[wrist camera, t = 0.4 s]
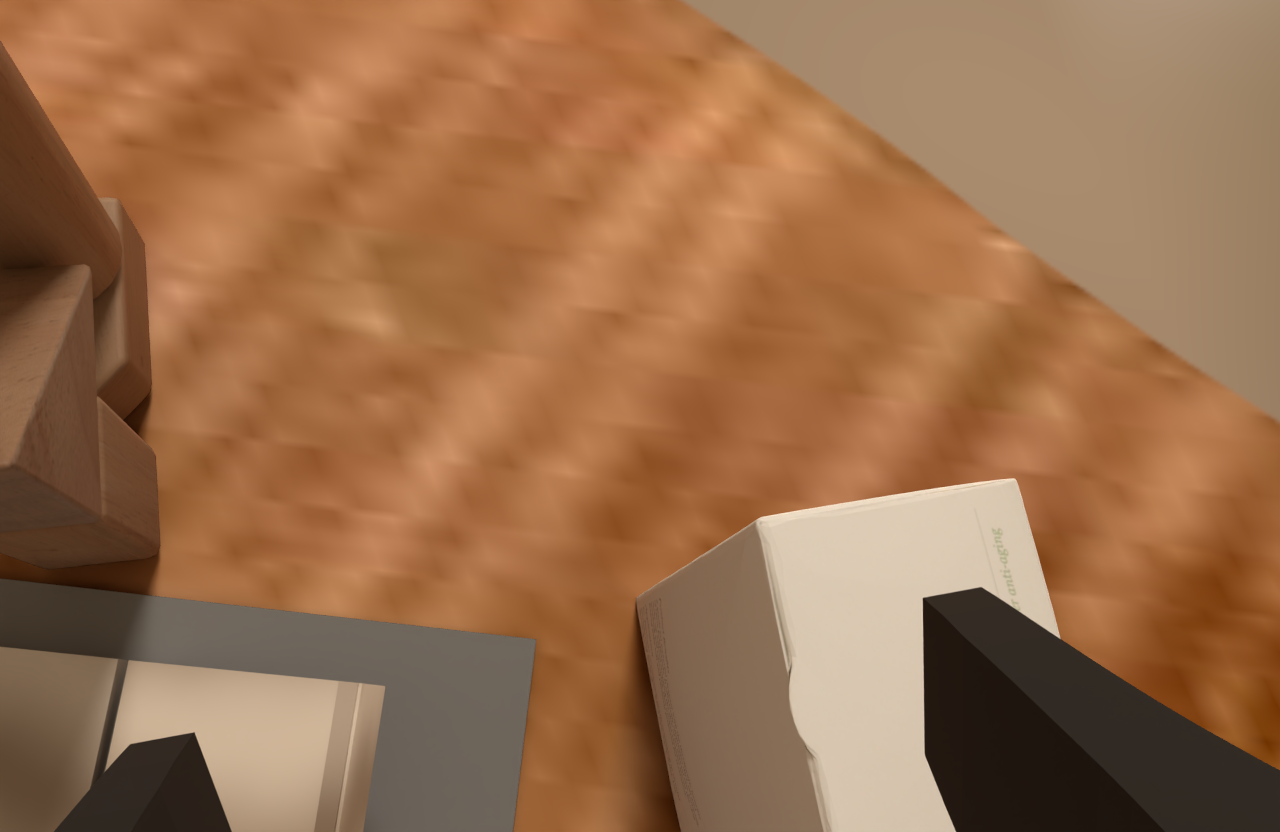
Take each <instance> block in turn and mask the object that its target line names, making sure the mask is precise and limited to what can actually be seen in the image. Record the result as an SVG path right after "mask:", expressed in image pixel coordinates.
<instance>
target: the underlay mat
mask: <svg viewBox="0 0 1280 832" xmlns="http://www.w3.org/2000/svg"><path fill="white" fill-rule="evenodd" d="M535 645H536V639H528V638H519V637H511V636H502V635H493V634H484V633H475V632H467V631H458V630H449V629H440V628H431V627H423V626H414V625H405V624H396V623H387V622H379V621H370V620H361V619H352V618H343V617H335V616H326V615H317V614H308V613H299V612H291V611H282V610H273V609H264V608H255V607H247V606H238V605H229V604H220V603H211V602H203V601H194V600H185V599H176V598H168V597H159V596H150V595H141V594H132V593H124V592H115V591H106V590H97V589H88V588H80V587H71V586H62V585H53V584H44V583H36V582H27V581H18V580H9V579H0V647H7V648H17V649H27V650H36V651H46V652H55V653H65V654H74V655H84V656H94V657H103V658H113V659H121V660H128V661H129V660H132V661H142V662H152V663H162V664H172V665H182V666H192V667H203V668H213V669H223V670H233V671H243V672H253V673H263V674H273V675H283V676H293V677H303V678H313V679H323V680H334V681H344V682H354V683H364V684H372V685H380V686H385V693H384V699H383V706H382V712H381V719H380V725H379V731H378V738H377V744H376V751H375V757H374V764H373V770H372V777H371V783H370V790H369V796H368V803H367V809H366V816H365V822H364V829H363V832H513V826H514V818H515V810H516V801H517V793H518V785H519V777H520V768H521V760H522V752H523V744H524V735H525V727H526V719H527V711H528V702H529V694H530V686H531V678H532V670H533V661H534V653H535ZM128 661H127V666H128ZM127 666H126V670H125V675H126V671H127ZM125 675H124V680H125ZM124 680H123V684H122V689H123V685H124ZM122 689H121V694H122ZM121 694H120V699H121ZM120 699H119V703H120ZM119 703H118V708H119ZM118 708H117V713H118ZM117 713H116V717H117ZM116 717H115V722H116ZM115 722H114V727H115ZM114 727H113V731H112V736H113V732H114ZM112 736H111V741H112ZM111 741H110V745H109V750H110V746H111ZM109 750H108V755H109ZM108 755H107V759H106V764H107V760H108ZM106 764H105V769H106ZM105 769H104V772H105Z"/></svg>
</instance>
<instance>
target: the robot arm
mask: <svg viewBox="0 0 1280 832" xmlns="http://www.w3.org/2000/svg"><path fill="white" fill-rule="evenodd" d="M923 666H924V750H925V757H926V759H927V762H928V764H929V767H930V769H931V772H932V774H933V777H934V779H935V782H936V785H937V787H938V790H939V792H940V795H941V797H942V800H943V802H944V805H945V807H946V809H947V812H948V814H949V816H950V819H951V821H952V823H953V826H954V828H955V831H956V832H1280V770H1278V769H1276V768H1274V767H1272V766H1270V765H1268V764H1267V763H1265V762H1263V761H1261V760H1259V759H1257V758H1256V757H1254V756H1252V755H1250V754H1248V753H1247V752H1245V751H1243V750H1241V749H1239V748H1238V747H1236V746H1234V745H1232V744H1230V743H1229V742H1227V741H1225V740H1223V739H1222V738H1220V737H1218V736H1216V735H1214V734H1213V733H1211V732H1209V731H1207V730H1205V729H1204V728H1202V727H1200V726H1198V725H1197V724H1195V723H1193V722H1192V721H1190V720H1188V719H1186V718H1185V717H1183V716H1181V715H1180V714H1178V713H1176V712H1175V711H1173V710H1171V709H1170V708H1168V707H1166V706H1165V705H1163V704H1161V703H1160V702H1158V701H1156V700H1155V699H1153V698H1152V697H1150V696H1148V695H1147V694H1145V693H1143V692H1142V691H1140V690H1139V689H1137V688H1135V687H1134V686H1132V685H1131V684H1129V683H1127V682H1126V681H1124V680H1123V679H1121V678H1119V677H1118V676H1116V675H1115V674H1113V673H1112V672H1110V671H1109V670H1107V669H1105V668H1104V667H1102V666H1101V665H1099V664H1098V663H1096V662H1095V661H1093V660H1092V659H1090V658H1088V657H1087V656H1085V655H1084V654H1082V653H1081V652H1079V651H1078V650H1076V649H1075V648H1073V647H1072V646H1070V645H1069V644H1067V643H1066V642H1064V641H1063V640H1061V639H1060V638H1058V637H1057V636H1055V635H1054V634H1052V633H1051V632H1049V631H1048V630H1046V629H1045V628H1043V627H1042V626H1040V625H1039V624H1037V623H1036V622H1034V621H1033V620H1031V619H1030V618H1028V617H1027V616H1025V615H1024V614H1022V613H1021V612H1019V611H1018V610H1016V609H1015V608H1013V607H1012V606H1010V605H1009V604H1007V603H1006V602H1004V601H1003V600H1001V599H1000V598H998V597H997V596H995V595H993V594H992V593H990V592H989V591H987V590H985V589H984V588H982V587H978V588H973V589H968V590H962V591H957V592H951V593H946V594H940V595H935V596H930V597H924V598H923ZM54 832H232V831H231V828H230V825H229V823H228V820H227V817H226V815H225V812H224V809H223V807H222V804H221V801H220V799H219V796H218V793H217V791H216V788H215V785H214V783H213V780H212V777H211V775H210V772H209V769H208V767H207V764H206V761H205V759H204V756H203V753H202V751H201V748H200V745H199V743H198V740H197V737H196V735H195V732H193V733H187V734H182V735H176V736H171V737H166V738H160V739H155V740H149V741H144V742H139V743H133V744H130V745H129V746H128V747H127V748H126V749H125V750H124V751H123V752H122V753H121V754H120V755H119V757H118V758H117V759H116V760H115V761H114V762H113V763H112V764H111V765H110V767H109V768H108V769H107V770H106V771H105V772H104V773H103V775H102V776H101V777H100V778H99V779H98V780H97V781H96V783H95V784H94V785H93V786H92V787H91V788H90V790H89V791H88V792H87V793H86V794H85V795H84V797H83V798H82V799H81V800H80V801H79V802H78V804H77V805H76V806H75V807H74V808H73V810H72V811H71V812H70V813H69V814H68V815H67V817H66V818H65V819H64V820H63V821H62V822H61V824H60V825H59V826H58V827H57V828H56V829H55V831H54Z"/></svg>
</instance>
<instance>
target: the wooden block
mask: <svg viewBox="0 0 1280 832" xmlns="http://www.w3.org/2000/svg"><path fill="white" fill-rule="evenodd" d="M151 385H152V379H151V360H150V340H149V321H148V301H147V282H146V262H145V244H144V242H143V240H142V238H141V236H140V235H139V233H138V231H137V229H136V228H135V226H134V224H133V222H132V221H131V219H130V217H129V216H128V214H127V212H126V210H125V209H124V207H123V205H122V203H121V202H120V200H118V199H115V198H111V197H109V198H97V196H96V194H95V193H94V191H93V189H92V188H91V186H90V185H89V183H88V181H87V180H86V178H85V177H84V175H83V173H82V172H81V170H80V168H79V167H78V165H77V164H76V162H75V160H74V159H73V157H72V156H71V154H70V152H69V151H68V149H67V147H66V146H65V144H64V143H63V141H62V139H61V138H60V136H59V135H58V133H57V131H56V130H55V128H54V126H53V125H52V123H51V122H50V120H49V118H48V117H47V115H46V114H45V112H44V110H43V109H42V107H41V105H40V104H39V102H38V101H37V99H36V97H35V96H34V94H33V93H32V91H31V89H30V88H29V86H28V84H27V83H26V81H25V80H24V78H23V76H22V75H21V73H20V72H19V70H18V68H17V67H16V65H15V63H14V62H13V60H12V59H11V57H10V55H9V54H8V52H7V51H6V49H5V47H4V46H3V44H2V42H1V41H0V553H2V554H4V555H7V556H10V557H13V558H15V559H18V560H21V561H24V562H27V563H29V564H32V565H35V566H38V567H41V568H45V569H48V570H49V569H58V568H66V567H75V566H84V565H93V564H102V563H110V562H119V561H128V560H137V559H145V558H150V557H152V556H154V555H156V554H157V553H158V550H159V548H160V529H159V510H158V491H157V472H156V456H155V454H154V452H153V450H152V448H151V447H150V446H149V445H148V444H147V443H146V442H145V441H144V440H142V439H141V438H140V437H139V436H138V435H137V434H136V433H135V432H134V431H133V430H132V429H131V428H130V427H129V426H128V425H127V424H126V423H125V422H124V421H123V420H124V419H125V418H126V417H127V416H128V415H129V414H130V413H131V412H132V411H133V410H134V409H135V408H136V407H137V406H138V405H139V404H140V403H141V402H142V401H143V400H144V399H145V398H146V397H147V395H148V394H149V392H150V391H151Z"/></svg>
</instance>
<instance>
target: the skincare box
mask: <svg viewBox="0 0 1280 832" xmlns="http://www.w3.org/2000/svg"><path fill="white" fill-rule="evenodd" d="M978 587H982V588H984V589H985V590H987V591H989V592H990V593H992V594H993V595H995V596H997V597H998V598H1000V599H1001V600H1003V601H1004V602H1006V603H1007V604H1009V605H1010V606H1012V607H1013V608H1015V609H1016V610H1018V611H1019V612H1021V613H1022V614H1024V615H1025V616H1027V617H1028V618H1030V619H1031V620H1033V621H1034V622H1036V623H1037V624H1039V625H1040V626H1042V627H1043V628H1045V629H1046V630H1048V631H1049V632H1051V633H1052V634H1054V635H1055V636H1057V637H1058V638H1060V635H1059V631H1058V627H1057V623H1056V619H1055V616H1054V612H1053V608H1052V604H1051V601H1050V597H1049V594H1048V590H1047V586H1046V583H1045V579H1044V576H1043V572H1042V568H1041V565H1040V561H1039V557H1038V554H1037V550H1036V547H1035V543H1034V540H1033V536H1032V533H1031V529H1030V526H1029V522H1028V519H1027V515H1026V511H1025V508H1024V504H1023V500H1022V497H1021V493H1020V490H1019V487H1018V484H1017V481H1016V479H1002V480H993V481H985V482H976V483H969V484H962V485H955V486H948V487H941V488H934V489H928V490H921V491H915V492H909V493H902V494H896V495H890V496H883V497H877V498H871V499H865V500H859V501H853V502H847V503H841V504H835V505H829V506H823V507H816V508H810V509H804V510H798V511H793V512H787V513H781V514H776V515H770V516H765V517H761V518H759V519H757V520H755V521H754V522H753V523H751V524H750V525H748V526H747V527H745V528H743V529H742V530H740V531H739V532H738V533H736V534H734V535H733V536H731V537H730V538H728V539H726V540H725V541H723V542H722V543H720V544H719V545H717V546H716V547H714V548H713V549H711V550H710V551H708V552H707V553H705V554H703V555H701V556H700V557H698V558H697V559H695V560H694V561H692V562H691V563H689V564H688V565H686V566H684V567H683V568H681V569H679V570H678V571H676V572H675V573H673V574H672V575H670V576H669V577H667V578H665V579H664V580H662V581H661V582H659V583H658V584H656V585H655V586H653V587H652V588H650V589H649V590H647V591H645V592H644V593H643V594H641V595H639V596H638V597H637V598H636V604H637V610H638V617H639V622H640V628H641V633H642V639H643V644H644V649H645V655H646V660H647V665H648V671H649V676H650V681H651V686H652V692H653V697H654V702H655V707H656V712H657V718H658V723H659V728H660V733H661V738H662V743H663V748H664V754H665V759H666V764H667V769H668V774H669V779H670V784H671V789H672V793H673V798H674V803H675V807H676V812H677V816H678V821H679V825H680V829H681V832H956V831H955V828H954V826H953V823H952V821H951V819H950V816H949V814H948V812H947V809H946V807H945V805H944V802H943V800H942V797H941V795H940V792H939V790H938V787H937V785H936V782H935V779H934V777H933V774H932V772H931V769H930V767H929V764H928V762H927V759H926V757H925V750H924V666H923V598H924V597H930V596H935V595H940V594H946V593H951V592H957V591H962V590H968V589H973V588H978Z"/></svg>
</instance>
